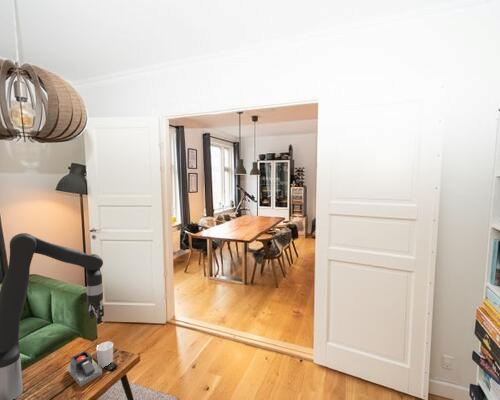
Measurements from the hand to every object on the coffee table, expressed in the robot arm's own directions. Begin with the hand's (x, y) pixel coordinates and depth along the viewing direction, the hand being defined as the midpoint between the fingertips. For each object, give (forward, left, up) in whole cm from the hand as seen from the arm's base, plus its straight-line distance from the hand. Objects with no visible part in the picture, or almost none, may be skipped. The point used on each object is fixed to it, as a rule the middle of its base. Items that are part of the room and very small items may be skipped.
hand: (95, 320), depth 142 cm
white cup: (+1, -7, -23) cm, 24 cm away
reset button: (-8, -1, -18) cm, 20 cm away
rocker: (-8, -10, -18) cm, 22 cm away
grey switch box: (-8, -5, -23) cm, 25 cm away
